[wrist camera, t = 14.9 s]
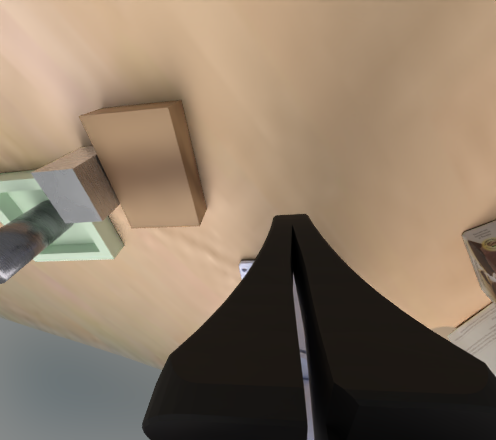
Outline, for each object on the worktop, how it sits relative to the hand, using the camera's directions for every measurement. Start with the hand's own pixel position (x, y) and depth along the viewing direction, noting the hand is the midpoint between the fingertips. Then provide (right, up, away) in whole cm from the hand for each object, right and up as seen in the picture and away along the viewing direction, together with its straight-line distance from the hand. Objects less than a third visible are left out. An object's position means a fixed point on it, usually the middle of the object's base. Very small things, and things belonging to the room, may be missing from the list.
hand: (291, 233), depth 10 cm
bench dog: (-14, +5, +10) cm, 18 cm away
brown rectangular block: (-9, +5, +10) cm, 14 cm away
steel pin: (-20, +1, +13) cm, 24 cm away
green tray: (-20, +1, +13) cm, 24 cm away
